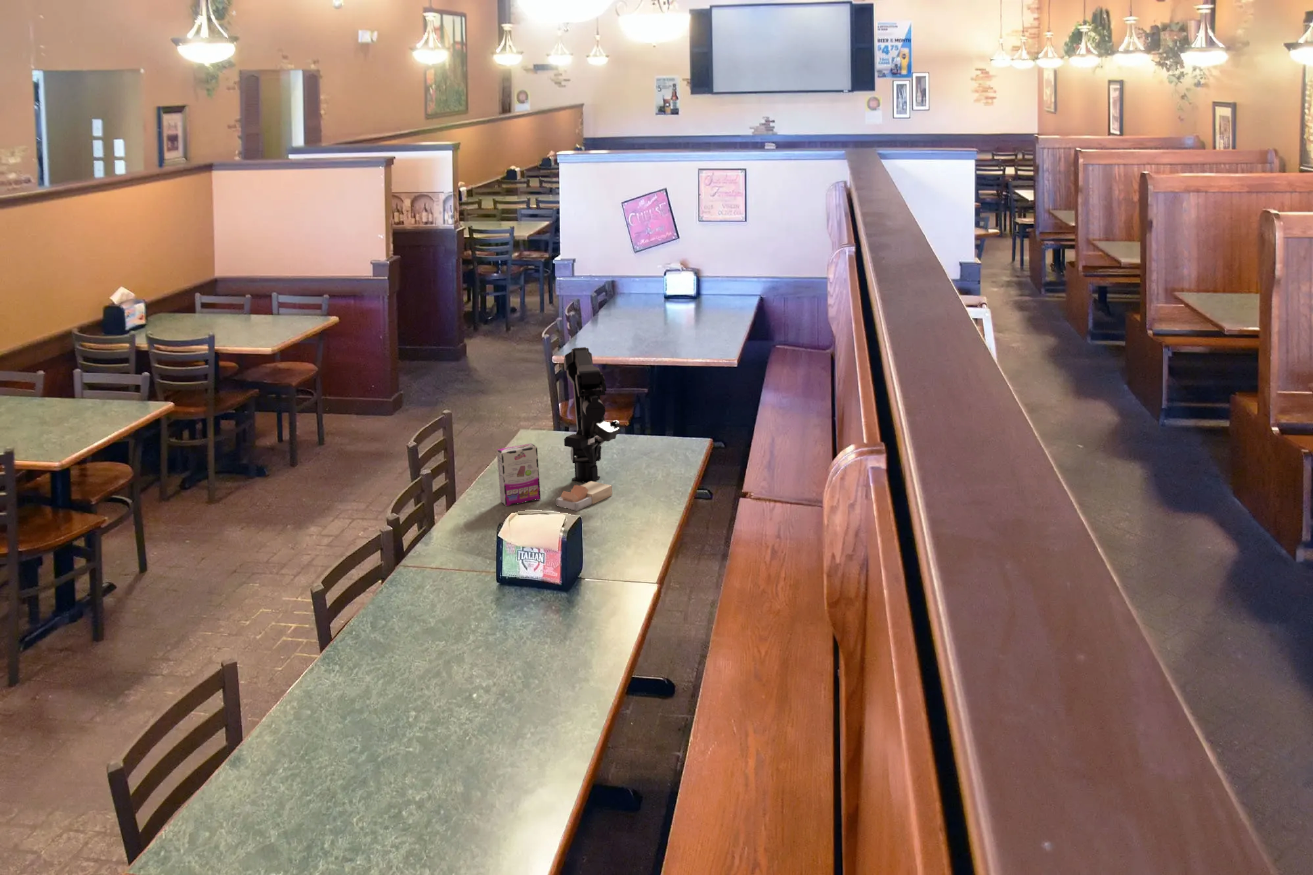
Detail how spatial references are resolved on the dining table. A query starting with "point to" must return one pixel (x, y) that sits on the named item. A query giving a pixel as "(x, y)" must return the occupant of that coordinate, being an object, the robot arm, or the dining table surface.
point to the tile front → (569, 496)
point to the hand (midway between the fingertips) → (592, 463)
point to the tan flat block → (597, 491)
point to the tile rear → (580, 491)
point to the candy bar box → (518, 474)
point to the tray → (574, 503)
